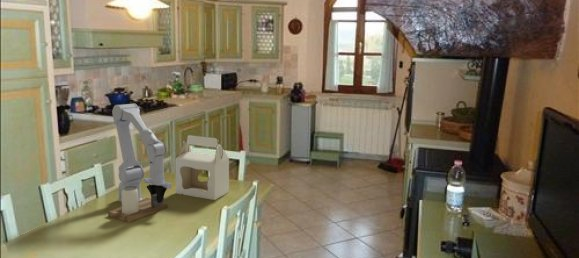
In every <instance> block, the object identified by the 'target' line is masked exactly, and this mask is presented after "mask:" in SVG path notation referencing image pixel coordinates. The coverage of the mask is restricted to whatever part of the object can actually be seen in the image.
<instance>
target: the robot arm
mask: <svg viewBox="0 0 579 258" xmlns="http://www.w3.org/2000/svg"><path fill="white" fill-rule="evenodd" d="M111 112H112V113H111V114H112V119H113V123H114V125H115V127H116V131H117V138H118V141H119V147H120V152H121V157H122V163H121V164H120V165H119V166H118V179H119V181H120V183H119V184H118V199H117V202H120V203H122V195H121V192H122V190H123V189H122V188H123V187H126V186H136V187H137V190H138V201H140V200H143V199H145V198H144V197H143V198H142V196H141V194H142V193H141V191H142V190H141V182H142V181H143V183H142V184H148V185H147V186H146V188H147V190H148V192H149V194H150V196H151V195H153V194H157V202H158V203H161V202H162V201H163V197H164V198H165V193H166V191H167V190H169V189H172V183H171V182H168V181H167V180H165V166H164V165H165V164H164V161H165V160H164V159H165V158H164V156H165V155H166V154H167V146H166V144H165V142H163V141H161V140H160V139H158V137H157V136H156V135H155V133H154V132H153V131H152V129H150V128H148V127H147V126H146V124H145V122H144V120H143V119H142V117H141V115H140V113H141V110H140V108H139V106H138V105H137V104H136V103H134V102H133V103H126V104H125V103H123V104H115V105H114V106H113V108H112V111H111ZM131 124H132V125H133V126H134V128H135V129H136V130H137V131H138V132H139V134H138V135H139V138H140V141H141V142H142V143H143V144H144V146H145V147H146V155H147V158H148V159H147V160H148V161H149V177H145V169H144V168H143V166H142V163H141V162H140V161H138V160H137V159H136V156H135V150H134V147H133V141H132V140H133V139H132V135H131V131H130V125H131Z"/></svg>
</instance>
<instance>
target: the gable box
mask: <svg viewBox="0 0 579 258" xmlns="http://www.w3.org/2000/svg"><path fill="white" fill-rule="evenodd" d="M219 141H220V140H219V139H218V138H217V137H209V136H203V135H194V134H189V135H187V139H186V140H183V142H182V145H181V147H180V150H179V151H178V153H177V155H176V156H175V194H176V195H177V194H178V195H182V194H183V195H184V196H189V197H194V198H200V199H207V200H211V201H216V200H217V199H220V198H221V197H223V196H225V195H227V194H228V193H230V158H229V156H228V154H227V152H226V151H225V150H224V148H223V144H220V143H219ZM192 145H193V146H200V147H201V146H202V147H209V148H215V155H214V154H208V153H200V152H199V153H198V152H193V151H192V149H191V146H192ZM199 170H204V171H207V172H208V173H209V176H208V179H207V180H206V181H201V180H199V178H198V177H199ZM183 195H182V196H183Z"/></svg>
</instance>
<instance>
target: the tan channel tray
mask: <svg viewBox="0 0 579 258" xmlns="http://www.w3.org/2000/svg"><path fill="white" fill-rule="evenodd" d="M138 206H139V211H138V212H135V213H132V214H130V215H126V214H122V206H120V207H117V208H114V209H111V210H109V211H107V213H108V217H110V218H113V219H116V220H120V221H122V222H126V223H131V222H133V221H136V220H139V219H141V218H143V217H146V216H149V215H152V214H154V213H157V212H158V211H162V210H164V209H167V208H168V202H165V196H164V197H163V201H162V202H161V203H158V202H157V194H153V195H151V194H150V197H145V198H144V199H143V200H140V201H138Z"/></svg>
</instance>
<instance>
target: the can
mask: <svg viewBox="0 0 579 258" xmlns="http://www.w3.org/2000/svg"><path fill="white" fill-rule="evenodd" d="M122 189H123V190H122V192H121V195H122V202H121V207H122V214H126V215H130V214H132V213H135V212H138V211H139V206H138V190H137V187H136V186H126V187H123V188H122Z"/></svg>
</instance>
